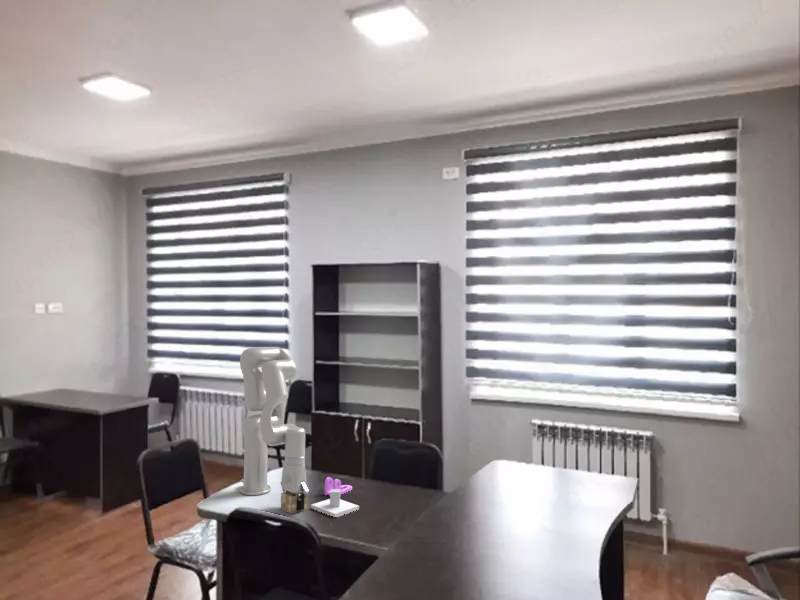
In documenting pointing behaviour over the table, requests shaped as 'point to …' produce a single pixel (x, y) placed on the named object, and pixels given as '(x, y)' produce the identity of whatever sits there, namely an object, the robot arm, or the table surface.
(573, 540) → the table surface
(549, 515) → the table surface
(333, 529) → the table surface
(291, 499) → the wooden collar
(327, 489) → the bracket
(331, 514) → the plate
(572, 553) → the table surface
